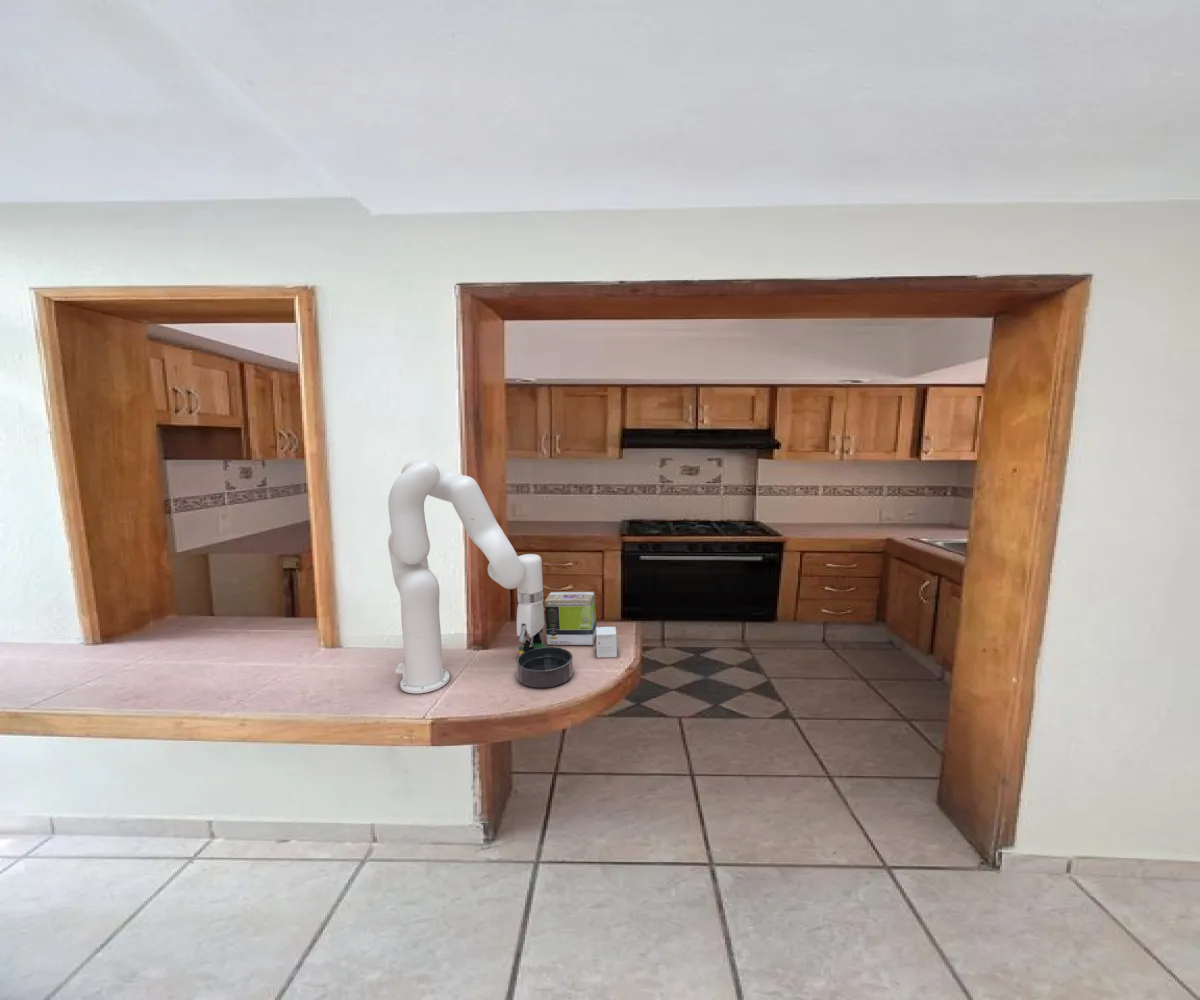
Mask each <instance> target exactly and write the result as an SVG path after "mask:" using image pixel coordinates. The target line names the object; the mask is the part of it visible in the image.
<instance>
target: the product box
mask: <svg viewBox="0 0 1200 1000" xmlns="http://www.w3.org/2000/svg"><path fill="white" fill-rule="evenodd" d="M617 637H618V636H617V627H616V626H596V636H595V644H596V645H595V648H596V650H595V651H596V652H595V653H596V658H617V657H618V640H617V639H618V638H617Z"/></svg>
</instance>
